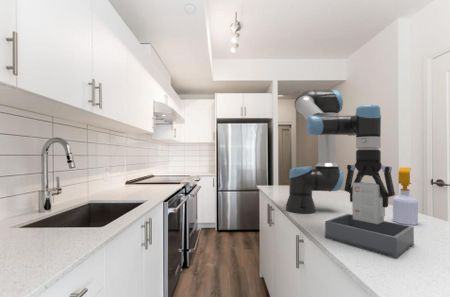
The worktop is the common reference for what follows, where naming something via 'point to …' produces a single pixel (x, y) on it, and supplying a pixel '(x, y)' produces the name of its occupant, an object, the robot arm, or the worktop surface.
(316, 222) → the worktop surface
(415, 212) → the soap bottle
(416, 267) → the worktop surface
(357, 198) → the small box
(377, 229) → the charcoal bin
